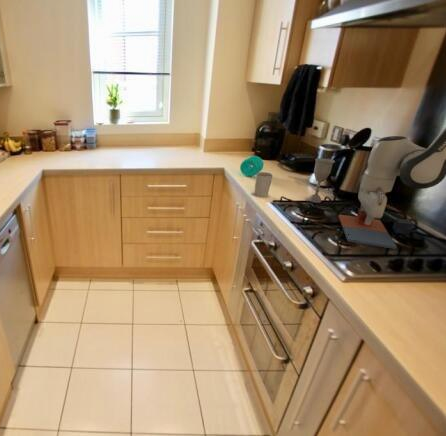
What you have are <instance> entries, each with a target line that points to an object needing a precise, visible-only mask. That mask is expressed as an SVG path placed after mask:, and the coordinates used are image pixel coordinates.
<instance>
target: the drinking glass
mask: <svg viewBox="0 0 446 436" xmlns="http://www.w3.org/2000/svg"><path fill="white" fill-rule="evenodd" d="M272 179H273V173H271V172H267V171H260V172H258V173H257V174H256V175H255V184H254V193H253V195H254V196H256V197H258V198H267V197H268V196H269V191H270V187H271V183H272Z"/></svg>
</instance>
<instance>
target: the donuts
mask: <svg viewBox="0 0 446 436" xmlns="http://www.w3.org/2000/svg"><path fill="white" fill-rule="evenodd" d="M239 167H240V168H239V169H240V170H239V171H240V172H241V174H243V176H245V177H250V178H251V177H254V176H256V174H257V173H259V172H262V171H263V169H264V160H263V159H262V158H261V157H260V156H257V155H251V156H249V157H247V158H245V159H243V160H242V162H241V163H240V166H239Z"/></svg>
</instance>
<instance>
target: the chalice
mask: <svg viewBox="0 0 446 436" xmlns="http://www.w3.org/2000/svg"><path fill="white" fill-rule="evenodd" d="M314 161H315V165H314V168H313V175H314V178H315V181H316V182H317V184H316V188H315V189H314V190H315V193H314V194H311V195H310V196H309V198H308V201H309V202H312V203H316V204H317V203H319V204H320V203H322V198H321V195H320V194H319V192H320V191H321V190H320V187H321V183H322V182H325V180H326V179H327V178H328V177H329V176H330V174H331V173H332V170H333V169H332V168H333V165H334V164H335V162H336V161H335V159H330V158H319V157H318V158H315V159H314Z"/></svg>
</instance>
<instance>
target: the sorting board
mask: <svg viewBox="0 0 446 436" xmlns="http://www.w3.org/2000/svg"><path fill="white" fill-rule="evenodd" d="M356 218H357V216H354V215H347V214H346V215H345V214H338V219H339V222H340V225H341V228H342V231H343V233H344V236H345V239H346V241H347V242H348V243H353V244H354V243H355V244H359V245H360V244H361V245H366V246H373V247H379V248H386V249H390V250H391V249H392V250H397V249H398V248H397V247H398V246H397V244H396V243H395V241H394V240H393V238H392V236H391V235H390V234H389V232H388V230H387V228H386V227H385V225H384V224H383V222H382V221H381V220H380V219H377V218H374V219H373V222H372V225H371V226H367V225H360V224H357V221H356ZM348 234H349V235H348Z"/></svg>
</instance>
